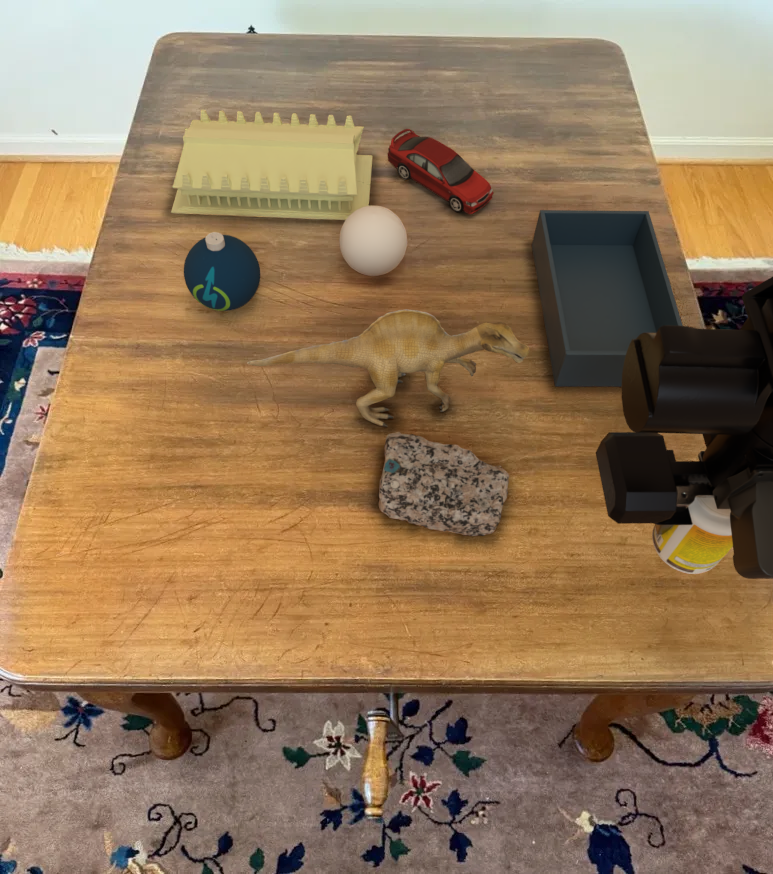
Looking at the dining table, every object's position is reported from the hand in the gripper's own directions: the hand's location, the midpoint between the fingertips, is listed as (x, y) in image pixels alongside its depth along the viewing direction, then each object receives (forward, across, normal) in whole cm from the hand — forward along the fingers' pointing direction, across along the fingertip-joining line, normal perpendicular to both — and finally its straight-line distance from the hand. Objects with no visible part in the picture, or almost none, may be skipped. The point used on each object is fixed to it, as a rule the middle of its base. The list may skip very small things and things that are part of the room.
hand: (695, 529), depth 58 cm
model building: (+12, -38, +56) cm, 69 cm away
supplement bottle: (+3, 0, 0) cm, 3 cm away
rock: (+12, -18, +10) cm, 24 cm away
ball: (+12, -25, +41) cm, 50 cm away
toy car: (+12, -16, +56) cm, 60 cm away
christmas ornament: (+12, -42, +36) cm, 57 cm away
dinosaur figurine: (+12, -24, +22) cm, 34 cm away
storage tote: (+12, +1, +34) cm, 36 cm away
